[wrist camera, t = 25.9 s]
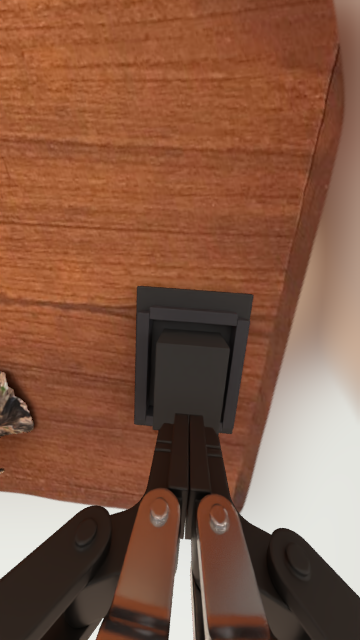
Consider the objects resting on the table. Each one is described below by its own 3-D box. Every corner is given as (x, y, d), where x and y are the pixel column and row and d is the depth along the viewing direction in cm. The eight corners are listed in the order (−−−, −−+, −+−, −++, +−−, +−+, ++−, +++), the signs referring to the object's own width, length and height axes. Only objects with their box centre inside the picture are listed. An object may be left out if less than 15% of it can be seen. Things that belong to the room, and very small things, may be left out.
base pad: (140, 285, 16) (131, 286, 14) (249, 293, 16) (260, 296, 14) (137, 416, 19) (129, 437, 17) (229, 425, 19) (235, 448, 16)
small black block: (164, 328, 16) (156, 342, 12) (220, 332, 16) (230, 348, 12) (160, 396, 17) (152, 429, 14) (211, 401, 17) (218, 436, 13)
